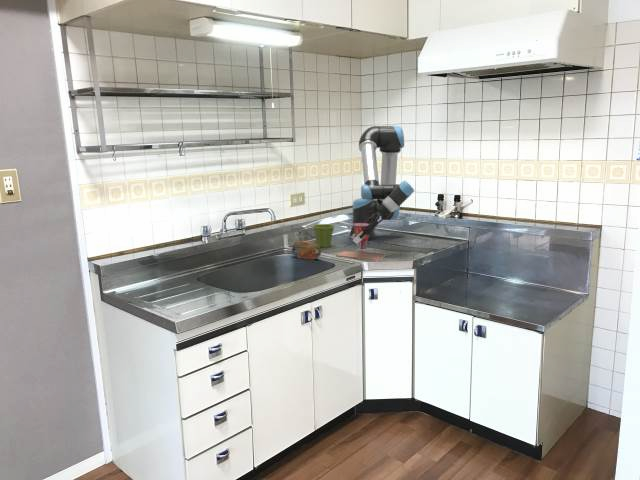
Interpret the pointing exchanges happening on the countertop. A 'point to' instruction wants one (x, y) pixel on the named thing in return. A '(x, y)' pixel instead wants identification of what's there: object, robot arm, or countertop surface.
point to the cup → (358, 229)
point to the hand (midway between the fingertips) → (353, 240)
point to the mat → (360, 255)
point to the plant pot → (323, 234)
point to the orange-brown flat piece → (306, 250)
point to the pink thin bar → (366, 252)
